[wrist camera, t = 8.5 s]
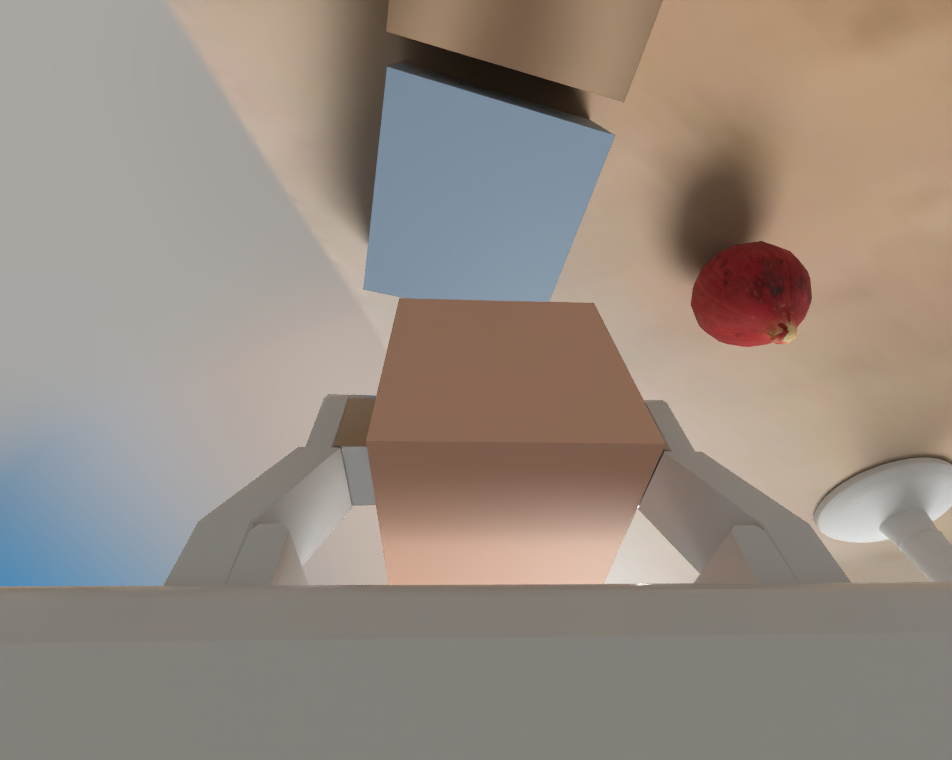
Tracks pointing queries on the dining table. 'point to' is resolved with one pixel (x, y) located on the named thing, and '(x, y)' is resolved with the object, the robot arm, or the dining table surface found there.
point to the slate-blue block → (475, 190)
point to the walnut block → (538, 36)
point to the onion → (752, 295)
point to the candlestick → (895, 511)
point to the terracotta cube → (506, 444)
